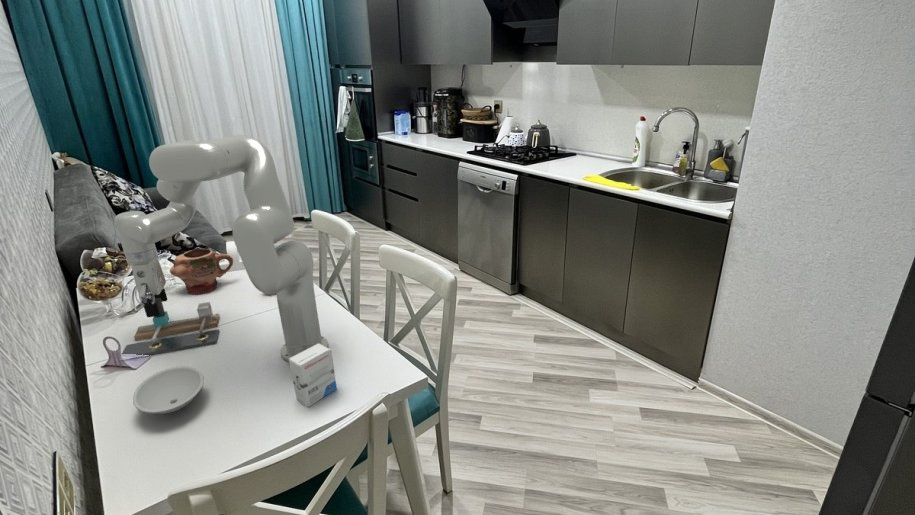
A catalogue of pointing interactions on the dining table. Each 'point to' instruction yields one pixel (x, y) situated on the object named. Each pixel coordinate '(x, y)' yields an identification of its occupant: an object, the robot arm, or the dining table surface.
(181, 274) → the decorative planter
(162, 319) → the sliding leg
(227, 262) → the tape dispenser
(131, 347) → the hole plate
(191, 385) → the dish
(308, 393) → the ink box
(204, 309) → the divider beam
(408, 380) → the dining table surface
